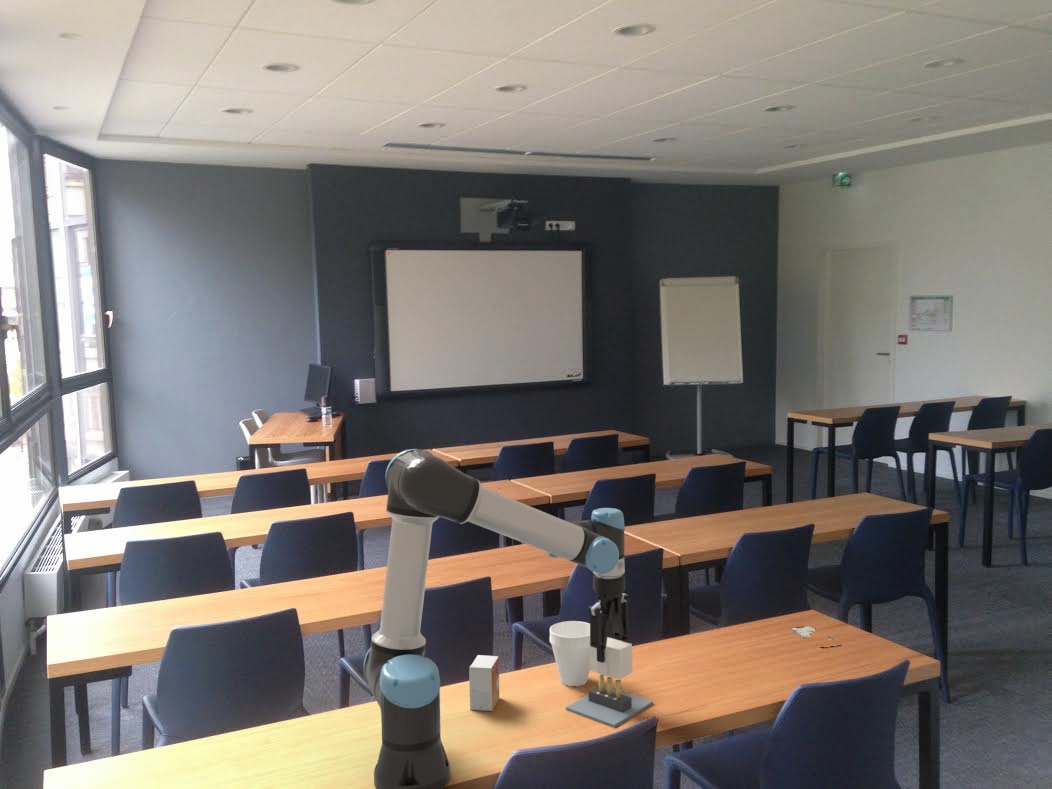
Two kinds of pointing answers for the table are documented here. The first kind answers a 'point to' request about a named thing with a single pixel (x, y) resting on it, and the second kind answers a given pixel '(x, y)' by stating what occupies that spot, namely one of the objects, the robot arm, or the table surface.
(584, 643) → the cup
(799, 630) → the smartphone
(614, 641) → the block
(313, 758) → the table surface
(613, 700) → the header
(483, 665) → the small box
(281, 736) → the table surface
